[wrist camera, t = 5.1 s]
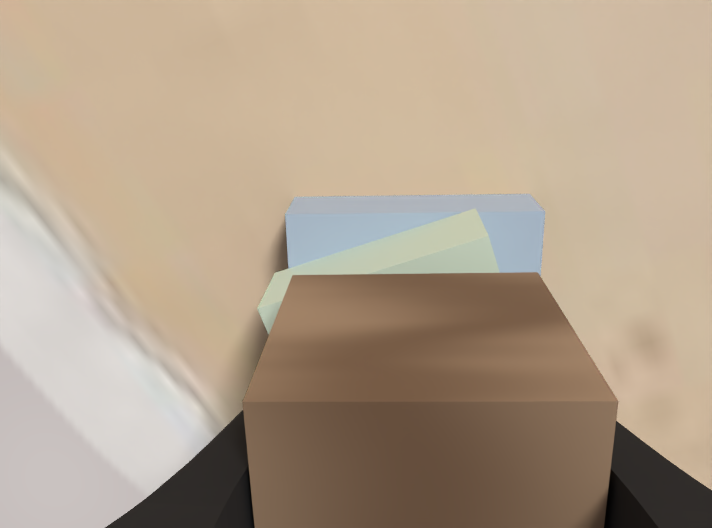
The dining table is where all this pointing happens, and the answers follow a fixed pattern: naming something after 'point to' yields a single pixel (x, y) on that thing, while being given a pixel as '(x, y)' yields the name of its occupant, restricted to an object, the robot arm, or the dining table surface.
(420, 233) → the sage block
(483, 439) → the walnut cube
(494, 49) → the dining table surface
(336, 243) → the slate slab
